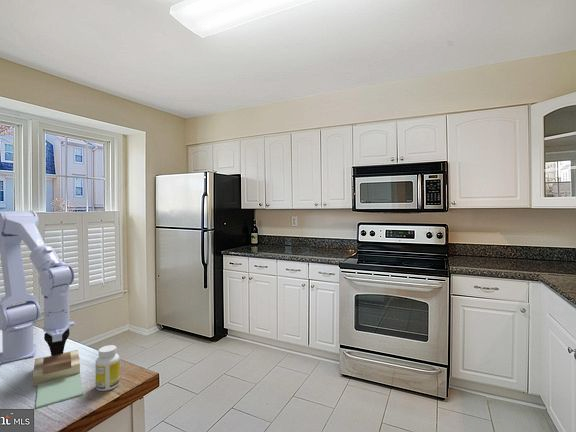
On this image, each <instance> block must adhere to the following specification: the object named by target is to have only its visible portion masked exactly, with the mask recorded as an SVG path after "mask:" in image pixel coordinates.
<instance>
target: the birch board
mask: <svg viewBox="0 0 576 432" xmlns="http://www.w3.org/2000/svg"><path fill="white" fill-rule="evenodd" d="M68 352H70V353H71V368H69V369H65V370H61V371H56V372H52V373H48V374H44V375H43V358H44V357H49V356H50V355H47V356H43V357H38V358H35V359H34V366H33V371H32V372H33V374H32V387H36V386H37V387H38V384H40V383H44V382H48V381H52V380H56V379H60V378H64V377H68V376H72V375H76V374H80V375H81V362H80V361H81V360H80V356H79V355H80V354H79V350H78V349H76V350H70V351H66V352H64V353H68Z"/></svg>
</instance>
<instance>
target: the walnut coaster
mask: <svg viewBox="0 0 576 432" xmlns="http://www.w3.org/2000/svg"><path fill="white" fill-rule="evenodd" d="M67 352H68V353H65V352H63V354H58V355H54V356H51V355H48V356H49V357H46V356H43V357H44V358H43V375H44V374H48V373H52V372H56V371H61V370H65V369H69V368H71V353H70V351H67Z"/></svg>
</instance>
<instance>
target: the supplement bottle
mask: <svg viewBox="0 0 576 432" xmlns="http://www.w3.org/2000/svg"><path fill="white" fill-rule="evenodd" d="M117 352H118V351H117V346H116V345H114V344H109V345H105V346H102V347H100V348H99V349H98V357H97V358H96V359H95V389H96V390H97V391H98V392H99V391H100V392H105V391H111V390H112V389H115V388H116V387H117V386H119V384H120V380H121V378H120V375H121V374H120V373H121V372H120V355H119V354H118V353H117Z"/></svg>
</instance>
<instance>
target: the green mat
mask: <svg viewBox="0 0 576 432" xmlns="http://www.w3.org/2000/svg"><path fill="white" fill-rule="evenodd" d="M81 379H82V377H81V373H80V374H76V375H72V376H68V377H64V378H60V379H56V380H52V381H48V382H44V383H40V384H38V385H37V393H36V401H35V402H36V403H35V409H39V408H43V407H47V406H49V405H53V404H56V403H61V402H63V401H68V400H70V399H74V398H77V397H81V396H83V395H84V392H83V391H84V390H83V385H82V380H81Z"/></svg>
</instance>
